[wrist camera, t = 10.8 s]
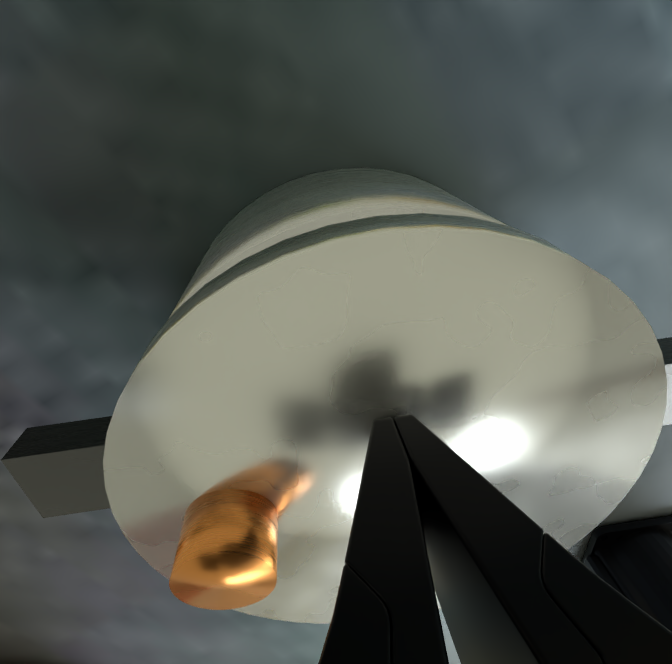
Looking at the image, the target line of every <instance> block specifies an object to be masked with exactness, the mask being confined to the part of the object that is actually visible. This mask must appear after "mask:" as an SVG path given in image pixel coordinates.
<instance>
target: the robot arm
mask: <svg viewBox="0 0 672 664" xmlns="http://www.w3.org/2000/svg"><path fill="white" fill-rule="evenodd" d="M435 592H436V594H435ZM436 595H437V598H438V601H439V603H440V606H441V609H442V612H443V615H444V617H445V620H446V623H447V626H448V629H449V631H450V634H451V637H452V640H453V642H454V645H455V648H456V651H457V654H458V656H459V659H460V662H461V664H672V516H667V517H661V518H654V519H648V520H642V521H635V522H629V523H623V524H616V525H610V526H604V527H599V528H597V529H595V530H594V531H593V533H592V535H591V538H590V541H589V544H588V546H587V549H586V552H585V555H584V558H583V560H582V562H581V561H579V560H578V559H577V558H576V557H575V556H573V555H572V554H571V553H570V552H569V551H568V550H566V549H565V548H564V547H563V546H562V545H561V544H560V543H558V542H557V541H556V540H555V539H554V538H553V537H552V536H550V535H549V534H548V533H544V530H543V529H542V528H541V527H540V526H539V525H538V524H537V523H535V522H534V521H533V520H532V519H531V518H530V517H529V516H527V515H526V514H525V513H524V512H523V511H522V510H521V509H519V508H518V507H517V506H516V505H515V504H514V503H513V502H512V501H510V500H509V499H508V498H507V497H506V496H505V495H504V494H502V493H501V492H500V491H499V490H498V489H497V488H496V487H494V486H493V485H492V484H491V483H490V482H489V481H488V480H486V479H485V478H484V477H483V476H482V475H481V474H480V473H479V472H477V471H476V470H475V469H474V468H473V467H472V466H471V465H469V464H468V463H467V462H466V461H465V460H464V459H463V458H461V457H460V456H459V455H458V454H457V453H456V452H455V451H453V450H452V449H451V448H450V447H449V446H448V445H447V444H446V443H444V442H443V441H442V440H441V439H440V438H439V437H438V436H436V435H435V434H434V433H433V432H432V431H431V430H430V429H428V428H427V427H426V426H425V425H424V424H423V423H422V422H420V421H419V420H418V419H417V418H416V417H415V416H414V415H411V414H407V415H400V416H395V417H394V418H393V419H392V418H391V417H386V418H380V419H375V420H374V421H373V423H372V427H371V432H370V437H369V442H368V447H367V452H366V457H365V462H364V467H363V472H362V477H361V482H360V487H359V492H358V497H357V502H356V507H355V512H354V517H353V522H352V527H351V532H350V537H349V542H348V547H347V552H346V557H345V565H344V566H343V570H342V576H341V580H340V585H339V590H338V594H337V598H336V603H335V607H334V611H333V615H332V620H331V623H330V627H329V630H328V633H327V637H326V640H325V643H324V647H323V650H322V654H321V657H320V660H319V663H318V664H449V662H448V656H447V651H446V646H445V641H444V636H443V630H442V625H441V620H440V615H439V610H438V604H437V599H436Z"/></svg>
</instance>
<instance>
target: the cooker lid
mask: <svg viewBox="0 0 672 664" xmlns="http://www.w3.org/2000/svg"><path fill="white" fill-rule="evenodd" d="M666 405H667V376H666V371H665V365H664V360H663V354H662V351H661V349H660V346H659V344H658V342H657V339H656V337H655V335H654V332H653V330H652V327H651V326H650V324H649V323H648V322H647V320H646V319H645V317H644V316H643V315H642V313H641V312H640V310H639V309H638V308H637V306H636V305H635V303H634V302H633V301H632V300H631V299H630V298H629V297H628V296H627V295H625V294H624V293H623V292H622V291H621V290H620V289H619V288H618V287H617V286H616V285H615V284H613V283H612V282H611V281H610V280H609V279H608V278H606V277H605V276H603V275H601V274H600V273H598V272H596V271H595V270H593V269H591V268H590V267H588V266H587V265H585V264H583V263H582V262H580V261H578V260H577V259H575V258H573V257H572V256H570V255H569V254H567V253H565V252H564V251H562V250H560V249H559V248H557V247H555V246H554V245H552V244H550V243H549V242H547V241H545V240H543V239H541V238H538V237H536V236H533V235H531V234H528V233H526V232H523V231H521V230H518V229H515V228H513V227H510V226H507V225H503V224H498V223H494V222H490V221H485V220H481V219H476V218H472V217H467V216H454V215H441V214H428V213H416V214H399V215H382V216H373V217H367V218H362V219H357V220H352V221H347V222H341V223H336V224H331V225H327V226H324V227H321V228H318V229H315V230H312V231H309V232H306V233H303V234H300V235H297V236H294V237H291V238H288V239H285V240H282V241H280V242H278V243H276V244H274V245H272V246H270V247H268V248H266V249H264V250H262V251H259V252H257V253H255V254H253V255H251V256H249V257H247V258H245V259H243V260H241V261H240V262H238V263H237V264H235V265H234V266H232V267H231V268H229V269H228V270H226V271H225V272H223V273H222V274H220V275H218V276H217V277H215V278H214V279H212V280H211V281H209V282H208V283H206V284H205V285H204V286H203V287H202V288H201V289H199V290H198V291H197V292H196V293H195V294H194V295H193V296H192V297H190V298H189V299H188V300H187V301H186V302H185V303H184V304H183V305H181V306H180V307H179V308H178V309H177V310H176V311H175V312H174V313H173V314H172V316H171V317H170V318H169V319H168V320H167V322H166V323H165V324H164V325H163V327H162V328H161V329H160V330H159V331H158V333H157V334H156V335H155V336H154V337H153V339H152V340H151V342H150V343H149V345H148V347H147V349H146V350H145V352H144V354H143V355H142V357H141V359H140V361H139V362H138V364H137V366H136V368H135V369H134V371H133V373H132V375H131V377H130V379H129V381H128V382H127V384H126V386H125V388H124V390H123V392H122V394H121V396H120V397H119V399H118V401H117V404H116V407H115V410H114V413H113V416H112V418H111V421H110V424H109V427H108V430H107V434H106V442H105V449H104V457H103V468H104V481H105V490H106V493H107V496H108V500H109V503H110V507H111V510H112V513H113V515H114V517H115V519H116V521H117V523H118V525H119V526H120V528H121V530H122V532H123V534H124V536H125V537H126V538H127V540H128V541H129V542H130V543H131V545H132V546H133V547H134V549H135V550H136V551H137V552H138V554H139V555H140V556H141V557H142V558H143V559H145V560H146V561H147V562H148V563H149V564H150V565H151V566H152V567H153V568H154V569H155V570H156V571H158V572H159V573H160V574H162V575H163V576H165V577H166V578H168V579H169V586H170V589H171V592H172V593H173V594H174V595H175V596H176V597H177V598H178V599H179V600H181V601H183V602H185V603H187V604H189V605H192V606H195V607H199V608H204V609H213V610H226V609H232V610H236V611H239V612H242V613H246V614H250V615H255V616H260V617H264V618H269V619H276V620H283V621H291V622H302V623H318V624H330V623H331V620H332V615H333V611H334V607H335V603H336V598H337V594H338V590H339V585H340V580H341V576H342V570H343V566H344V565H345V557H346V552H347V547H348V542H349V537H350V532H351V527H352V522H353V517H354V512H355V507H356V502H357V497H358V492H359V487H360V482H361V477H362V472H363V467H364V462H365V457H366V452H367V447H368V442H369V437H370V432H371V427H372V423H373V421H374V420H375V419H380V418H386V417H391V418H392V419H393V418H394V417H395V416H400V415H407V414H411V415H414V416H415V417H416V418H417V419H418V420H419V421H420V422H422V423H423V424H424V425H425V426H426V427H427V428H428V429H430V430H431V431H432V432H433V433H434V434H435V435H436V436H438V437H439V438H440V439H441V440H442V441H443V442H444V443H446V444H447V445H448V446H449V447H450V448H451V449H452V450H453V451H455V452H456V453H457V454H458V455H459V456H460V457H461V458H463V459H464V460H465V461H466V462H467V463H468V464H469V465H471V466H472V467H473V468H474V469H475V470H476V471H477V472H479V473H480V474H481V475H482V476H483V477H484V478H485V479H486V480H488V481H489V482H490V483H491V484H492V485H493V486H494V487H496V488H497V489H498V490H499V491H500V492H501V493H502V494H504V495H505V496H506V497H507V498H508V499H509V500H510V501H512V502H513V503H514V504H515V505H516V506H517V507H518V508H519V509H521V510H522V511H523V512H524V513H525V514H526V515H527V516H529V517H530V518H531V519H532V520H533V521H534V522H535V523H537V524H538V525H539V526H540V527H541V528H542V529H543V530H544V533H548V534H549V535H550V536H552V537H553V538H554V539H555V540H556V541H557V542H558V543H560V544H561V545H562V546H563V547H564V548H565V549H566V550H568V549H570V548H571V547H572V546H574V545H575V544H576V543H577V542H579V541H580V540H581V539H583V538H584V537H585V536H587V535H588V534H589V533H590V532H591V531H592V530H593V529H594V528H595V527H597V526H598V525H599V524H600V523H601V522H602V521H603V520H604V519H605V518H606V517H607V516H608V515H609V514H610V513H611V512H612V511H613V510H614V509H615V507H616V506H617V505H618V504H619V503H620V502H621V501H622V500H623V499H624V497H625V496H626V495H627V493H628V492H629V491H630V489H631V488H632V487H633V485H634V484H635V482H636V481H637V480H638V478H639V477H640V475H641V473H642V472H643V470H644V468H645V466H646V464H647V463H648V461H649V459H650V457H651V455H652V453H653V451H654V448H655V445H656V443H657V440H658V438H659V435H660V433H661V429H662V425H663V420H664V415H665V410H666ZM435 594H436V592H435ZM436 599H437V604H438V609H441V606H440V603H439V601H438V598H437V595H436Z"/></svg>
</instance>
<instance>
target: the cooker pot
mask: <svg viewBox="0 0 672 664" xmlns="http://www.w3.org/2000/svg"><path fill="white" fill-rule="evenodd" d="M416 213H428V214H441V215H454V216H467V217H472V218H476V219H481V220H485V221H490V222H494V223H498V224H503V225H506V224H504V223H502V222H500V221H498V220H497V219H495V218H493V217H491V216H489V215H488V214H486V213H484V212H482V211H480V210H479V209H477V208H475V207H473V206H471V205H469V204H468V203H466V202H464V201H462V200H460V199H459V198H457V197H455V196H453V195H451V194H449V193H448V192H446V191H444V190H442V189H440V188H439V187H437V186H435V185H433V184H431V183H428V182H426V181H423V180H421V179H418V178H416V177H414V176H411V175H407V174H403V173H399V172H394V171H390V170H384V169H373V168H343V169H333V170H328V171H323V172H318V173H313V174H309V175H306V176H304V177H301V178H298V179H295V180H292V181H289V182H286V183H285V184H283V185H281V186H279V187H277V188H275V189H273V190H271V191H269V192H267V193H265V194H263V195H262V196H261V197H259V198H258V199H256V200H255V201H253V202H252V203H250V204H249V205H248V206H246V207H245V208H244V209H243V210H241V211H240V212H239V213H238V214H237V215H236V216H235V217H234V218H233V219H232V220H231V221H230V222H229V223H228V224H227V225H226V226H225V227H224V228H223V230H222V231H221V232H220V233H219V235H218V236H217V237H216V238H215V240H214V241H213V242H212V244H211V246H210V247H209V249H208V251H207V252H206V254H205V256H204V258H203V259H202V261H201V263H200V265H199V266H198V268H197V270H196V272H195V273H194V275H193V277H192V279H191V280H190V282H189V284H188V286H187V287H186V289H185V291H184V293H183V295H182V296H181V298H180V300H179V302H178V303H177V305H176V307H175V309H174V310H173V312H172V314H173V313H174V312H175V311H176V310H177V309H178V308H179V307H180V306H181V305H183V304H184V303H185V302H186V301H187V300H188V299H189V298H190V297H192V296H193V295H194V294H195V293H196V292H197V291H198V290H199V289H201V288H202V287H203V286H204V285H205V284H206V283H208V282H209V281H211V280H212V279H214V278H215V277H217V276H218V275H220V274H222V273H223V272H225V271H226V270H228V269H229V268H231V267H232V266H234V265H235V264H237V263H238V262H240V261H241V260H243V259H245V258H247V257H249V256H251V255H253V254H255V253H257V252H259V251H262V250H264V249H266V248H268V247H270V246H272V245H274V244H276V243H278V242H280V241H282V240H285V239H288V238H291V237H294V236H297V235H300V234H303V233H306V232H309V231H312V230H315V229H318V228H321V227H324V226H327V225H331V224H336V223H341V222H347V221H352V220H357V219H362V218H367V217H373V216H382V215H399V214H416ZM507 226H508V225H507ZM172 314H171V316H172ZM171 316H170V317H171ZM170 317H169V318H170ZM657 342H658V344H659V346H660V349H661V351H662V354H663V360H664V365H665V371H666V376H667V405H666V410H665V415H664V420H663V425H670V424H672V337H671V338H664V339H657ZM111 418H112V416H109V417H102V418H95V419H88V420H81V421H74V422H67V423H60V424H53V425H46V426H38V427H31V428H27V429H26V430H25V431H24V432H23V434H22V435H21V436H20V437H19V438H18V440H17V441H16V442H15V443H14V445H13V446H12V447H11V448H10V449H9V451H8V452H7V453H6V454H5V456H4V457H3V458H2V459H1V461H2V462H3V464H4V465H5V466H6V468H7V469H8V470H9V472H10V473H11V475H12V476H13V477H14V479H15V480H16V481H17V483H18V484H19V486H20V487H21V488H22V490H23V491H24V492H25V494H26V495H27V497H28V498H29V499H30V501H31V502H32V503H33V505H34V506H35V508H36V509H37V510H38V512H39V513H40V514H41V516H42V517H43V518H47V517H54V516H60V515H67V514H74V513H80V512H87V511H94V510H100V509H107V508H111V507H110V503H109V500H108V496H107V493H106V490H105V481H104V468H103V457H104V449H105V442H106V434H107V430H108V427H109V424H110V421H111ZM663 425H662V426H663Z"/></svg>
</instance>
